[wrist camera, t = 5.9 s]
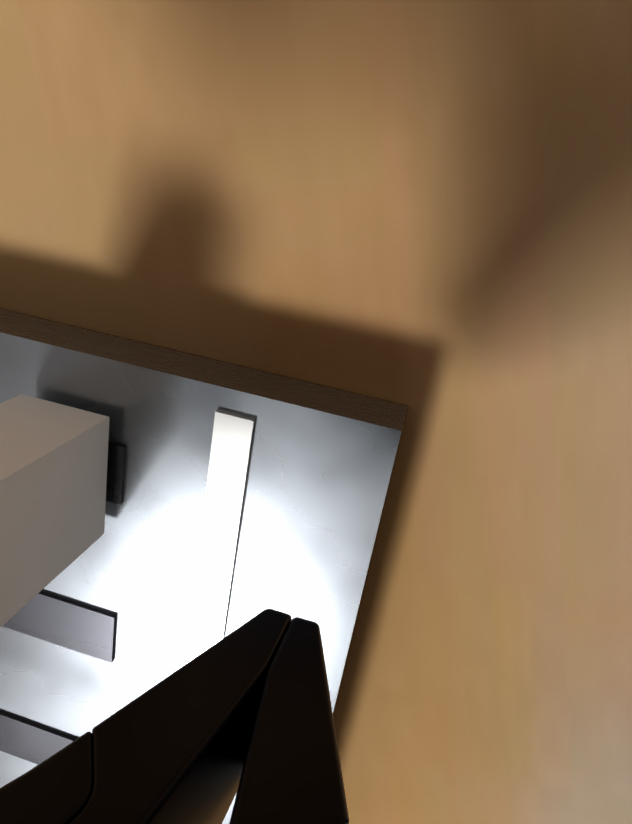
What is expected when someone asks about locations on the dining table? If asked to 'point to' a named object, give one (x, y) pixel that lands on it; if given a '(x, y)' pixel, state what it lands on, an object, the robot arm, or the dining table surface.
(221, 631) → the panel
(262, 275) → the dining table surface
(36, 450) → the block
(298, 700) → the robot arm
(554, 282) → the dining table surface
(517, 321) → the dining table surface
